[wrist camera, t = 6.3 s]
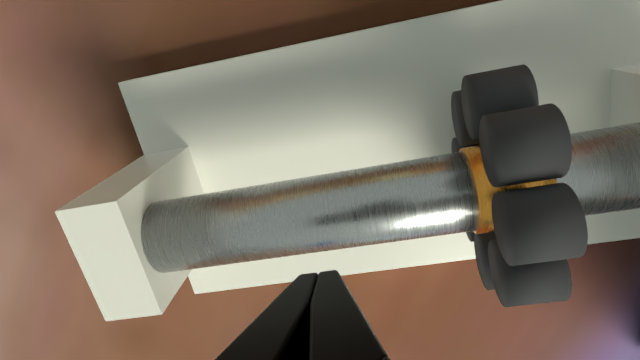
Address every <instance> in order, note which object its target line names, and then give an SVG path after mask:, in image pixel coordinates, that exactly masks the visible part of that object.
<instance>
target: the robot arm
mask: <svg viewBox="0 0 640 360" xmlns="http://www.w3.org/2000/svg"><path fill="white" fill-rule="evenodd" d="M215 360H390V359H389V358H388V356H387V354H386V352H385V350H384V349H383V347H382V345H381V344H380V342H379V340H378V339H377V337H376V335H375V333H374V332H373V330H372V328H371V327H370V325H369V323H368V322H367V320H366V318H365V316H364V315H363V313H362V311H361V310H360V308H359V306H358V305H357V303H356V301H355V299H354V298H353V296H352V294H351V293H350V291H349V289H348V288H347V286H346V284H345V282H344V281H343V279H342V277H341V276H340V274H339V272H338V271H337V270H330V271H323V272H320V273H319V274H318V273H308V274H301V275H299V276H298V277H297V278H296V279H295V280H294V281H293V282H292V283H291V284H290V285H289V286H288V287H287V288H286V289H285V290H284V291H283V292H282V293H281V294H280V295H279V296H278V297H277V298H276V299H275V300H274V301H273V302H272V303H271V304H270V305H269V306H268V307H267V308H266V309H265V310H264V311H263V312H262V313H261V314H260V315H259V316H258V317H257V318H256V319H255V320H254V321H253V322H252V323H251V324H250V325H249V326H248V327H247V328H246V329H245V330H244V331H243V332H242V333H241V334H240V335H239V336H238V337H237V338H236V339H235V340H234V341H233V342H232V343H231V344H230V345H229V346H228V347H227V348H226V349H225V350H224V351H223V352H222V353H221V354H220V355H219V356H218V357H217V358H216V359H215Z"/></svg>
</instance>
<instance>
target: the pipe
mask: <svg viewBox="0 0 640 360" xmlns="http://www.w3.org/2000/svg"><path fill="white" fill-rule="evenodd" d="M570 136H571V143H572V160H571V165H570V169H569V171H568V173H567V174H566V175H565V176H564V177H562V178H556V179H550V180H543V181H536V182H530V183H523V184H516V185H510V186H503V187H496V188H495V187H493V186H492V185H491V183H490V182H489V180H488V178H487V175H486V172H485V169H484V166H483V162H482V157H481V151H480V145H477V146H471V147H465V148H461V149H460V150H459V152H455V153H449V154H443V155H437V156H431V157H425V158H419V159H413V160H406V161H400V162H394V163H388V164H382V165H376V166H370V167H364V168H358V169H352V170H346V171H339V172H333V173H327V174H321V175H315V176H309V177H303V178H297V179H291V180H285V181H279V182H273V183H266V184H260V185H254V186H248V187H242V188H236V189H230V190H224V191H218V192H212V193H206V194H199V195H193V196H187V197H181V198H175V199H169V200H163V201H157V202H153V203H151V204H150V205H149V206H148V207H147V209H146V210H145V213H144V215H143V218H142V223H141V242H142V247H143V251H144V254H145V257H146V259H147V261H148V262H149V264H150V265H151V267H152V268H153V269H154V270H156V271H157V272H160V273H168V272H176V271H183V270H190V269H198V268H205V267H212V266H220V265H227V264H235V263H242V262H249V261H257V260H264V259H271V258H279V257H286V256H293V255H301V254H308V253H315V252H323V251H330V250H338V249H345V248H352V247H360V246H367V245H374V244H382V243H389V242H396V241H404V240H411V239H419V238H426V237H433V236H441V235H448V234H455V233H463V232H470V231H473V232H474V233H475V234H481V233H488V232H495V231H494V226H493V220H492V197H493V194H494V193H495V192H501V191H508V190H515V189H521V188H528V187H535V186H542V185H548V184H555V183H566V184H567V185H569V186H570V187H571V188H572V189H573V191H574V192H575V194H576V195H577V197H578V199H579V201H580V203H581V206H582V208H583V211H584V215H585V216H588V215H595V214H602V213H610V212H617V211H625V210H632V209H639V208H640V122H638V123H632V124H626V125H619V126H613V127H607V128H601V129H595V130H589V131H583V132H577V133H571V134H570Z"/></svg>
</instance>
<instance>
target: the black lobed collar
mask: <svg viewBox="0 0 640 360" xmlns="http://www.w3.org/2000/svg"><path fill="white" fill-rule="evenodd" d="M451 112H452V121H453V127H454V131H455V135H456V137H455V138H453V139H452V145H451V148H452V153H455V152H459V150H460V149H461V148H465V147H471V146H477V145H480V151H481V157H482V162H483V166H484V169H485V172H486V175H487V178H488V180H489V182H490V183H491V185H492V186H493V187H495V188H496V187H503V186H510V185H516V184H523V183H530V182H536V181H543V180H550V179H556V178H562V177H564V176H565V175H566V174H567V173H568V171H569V169H570V165H571V160H572V143H571V136H570V131H569V128H568V125H567V122H566V119H565V117H564V115H563V113H562V112H561V110H560V109H559V108H558V107H557V106H556V105H554V104H552V103H549V104H544V105H539V99H538V91H537V86H536V82H535V79H534V76H533V74H532V72H531V70H530V69H529V68H528V67H527V66H526V65H524V64H522V65H517V66H512V67H506V68H501V69H496V70H491V71H486V72H480V73H475V74H470V75H465V76H464V77H463V79H462V84H461V90H459V91H453V93H452V96H451ZM492 220H493V226H494V231H495V232H488V233H481V234H475V233H474V232H473V231H470V232H466V234H467V236H468V239H469V240H470V241H471V242H474V248H475V255H476V261H477V266H478V270H479V273H480V276H481V279H482V282H483V284H484V286H485V288H486V289H487V290H492V289H495V290H496V293H497V296H498V298H499V300H500V302H501V304H502V305H503V306H504V307H511V306H521V305H530V304H539V303H548V302H558V301H566V300H568V299H569V297H570V295H571V289H572V282H571V274H570V269H569V265H568V261H567V259H573V258H580V257H582V256H583V255H584V254H585V251H586V248H587V243H588V231H587V223H586V219H585V215H584V211H583V208H582V206H581V203H580V201H579V199H578V197H577V195H576V194H575V192H574V191H573V189H572V188H571V187H570V186H569V185H567V184H566V183H555V184H548V185H542V186H535V187H528V188H521V189H515V190H508V191H501V192H495V193H494V194H493V197H492Z"/></svg>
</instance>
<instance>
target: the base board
mask: <svg viewBox="0 0 640 360" xmlns="http://www.w3.org/2000/svg"><path fill="white" fill-rule="evenodd" d="M522 64H524V65H526V66H527V67H528V68H529V69H530V70H531V72H532V74H533V76H534V79H535V82H536V86H537V91H538V99H539V105H544V104H549V103H552V104H554V105H556V106H557V107H558V108H559V109H560V110H561V112H562V113H563V115H564V117H565V119H566V122H567V125H568V128H569V131H570V134H571V133H577V132H583V131H589V130H595V129H601V128H607V127H613V126H619V125H626V124H632V123H638V122H640V0H499V1H494V2H489V3H485V4H480V5H475V6H471V7H466V8H461V9H457V10H452V11H447V12H443V13H438V14H433V15H429V16H424V17H419V18H415V19H410V20H405V21H401V22H396V23H391V24H387V25H382V26H377V27H373V28H368V29H363V30H359V31H354V32H349V33H345V34H340V35H335V36H331V37H326V38H321V39H317V40H312V41H307V42H303V43H298V44H293V45H289V46H284V47H279V48H275V49H270V50H265V51H261V52H256V53H251V54H247V55H242V56H237V57H233V58H228V59H223V60H219V61H214V62H209V63H205V64H200V65H195V66H191V67H186V68H181V69H177V70H172V71H167V72H163V73H158V74H153V75H149V76H144V77H139V78H135V79H130V80H126V81H123V82H119V83H118V85H119V88H120V90H121V93H122V96H123V99H124V101H125V104H126V107H127V110H128V112H129V115H130V118H131V121H132V123H133V126H134V129H135V131H136V134H137V137H138V140H139V142H140V145H141V148H142V151H143V153H144V155H143V156H141V157H140V158H138V159H137V160H135V161H133V162H132V163H130V164H129V165H127V166H126V167H124V168H122V169H121V170H119V171H118V172H116V173H114V174H113V175H111V176H110V177H108V178H107V179H105V180H103V181H102V182H100V183H99V184H97V185H96V186H94V187H92V188H91V189H89V190H88V191H86V192H85V193H83V194H81V195H80V196H78V197H77V198H75V199H74V200H72V201H70V202H69V203H67V204H66V205H64V206H62V207H61V208H59V209H58V210H56V211H55V213H56V215H57V218H58V220H59V222H60V224H61V226H62V228H63V230H64V233H65V235H66V237H67V239H68V241H69V243H70V246H71V248H72V250H73V252H74V254H75V256H76V258H77V261H78V263H79V265H80V267H81V269H82V271H83V274H84V276H85V278H86V280H87V282H88V284H89V286H90V289H91V291H92V293H93V295H94V297H95V299H96V302H97V304H98V306H99V308H100V310H101V312H102V314H103V317H104V319H105V321H112V320H120V319H129V318H137V317H145V316H154V315H162V314H163V312H164V311H165V309H166V308H167V306H168V305H169V303H170V302H171V300H172V299H173V297H174V296H175V294H176V293H177V291H178V290H179V288H180V287H181V285H182V284H183V282H184V281H185V279H186V278H187V276H188V277H189V279H190V282H191V285H192V288H193V290H194V293H195V294H199V293H207V292H215V291H223V290H230V289H238V288H246V287H254V286H262V285H270V284H278V283H286V282H293V281H294V280H295V279H296V278H297V277H298V276H299V275H301V274H308V273H318V274H319V273H320V272H323V271H330V270H337V271H338V272H339V274H340V276H341V275H349V274H357V273H365V272H373V271H381V270H389V269H397V268H405V267H413V266H421V265H429V264H436V263H444V262H452V261H460V260H468V259H476V255H475V248H474V242H471V241H470V240H469V239H468V236H467V234H466V232H463V233H455V234H448V235H441V236H433V237H426V238H419V239H411V240H404V241H396V242H389V243H382V244H374V245H367V246H360V247H352V248H345V249H338V250H330V251H323V252H315V253H308V254H301V255H293V256H286V257H279V258H271V259H264V260H257V261H249V262H242V263H235V264H227V265H220V266H212V267H205V268H198V269H190V270H183V271H176V272H168V273H160V272H157V271H156V270H154V269H153V268H152V267H151V265H150V264H149V262H148V261H147V259H146V257H145V254H144V251H143V247H142V242H141V223H142V218H143V215H144V213H145V210H146V209H147V207H148V206H149V205H150V204H151V203H153V202H157V201H163V200H169V199H175V198H181V197H187V196H193V195H199V194H206V193H212V192H218V191H224V190H230V189H236V188H242V187H248V186H254V185H260V184H266V183H273V182H279V181H285V180H291V179H297V178H303V177H309V176H315V175H321V174H327V173H333V172H339V171H346V170H352V169H358V168H364V167H370V166H376V165H382V164H388V163H394V162H400V161H406V160H413V159H419V158H425V157H431V156H437V155H443V154H449V153H452V148H451V145H452V139H453V138H455V137H456V135H455V131H454V127H453V121H452V112H451V96H452V93H453V91H459V90H461V84H462V79H463V77H464V76H465V75H470V74H475V73H480V72H486V71H491V70H496V69H501V68H506V67H512V66H517V65H522ZM585 219H586V223H587V231H588V243H587V244H595V243H603V242H611V241H619V240H627V239H635V238H640V208H639V209H632V210H625V211H617V212H610V213H602V214H595V215H588V216H585Z"/></svg>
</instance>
